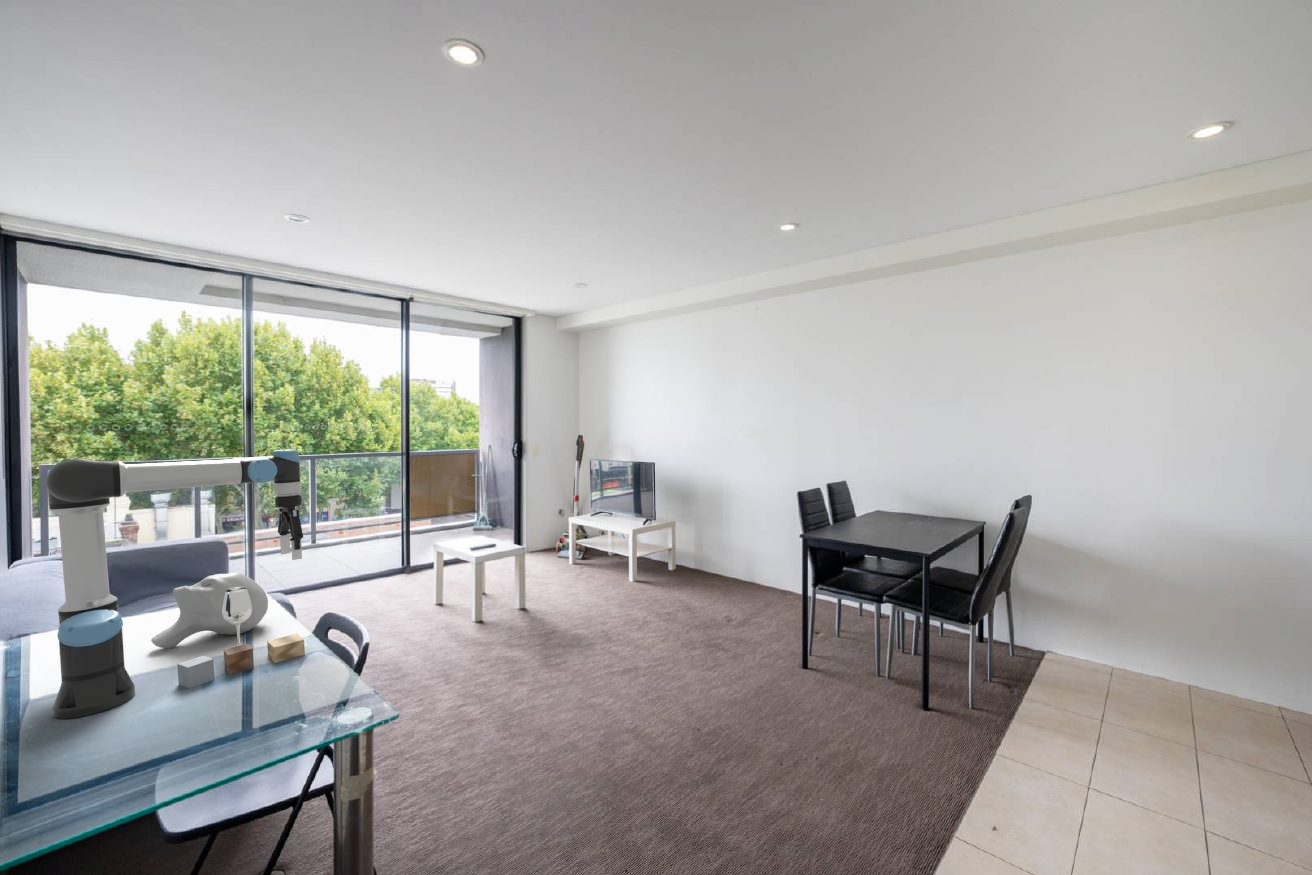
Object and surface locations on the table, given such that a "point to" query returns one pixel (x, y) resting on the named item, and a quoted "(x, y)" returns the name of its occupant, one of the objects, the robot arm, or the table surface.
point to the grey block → (195, 671)
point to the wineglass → (236, 608)
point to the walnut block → (238, 659)
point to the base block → (285, 648)
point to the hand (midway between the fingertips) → (291, 556)
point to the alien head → (211, 608)
